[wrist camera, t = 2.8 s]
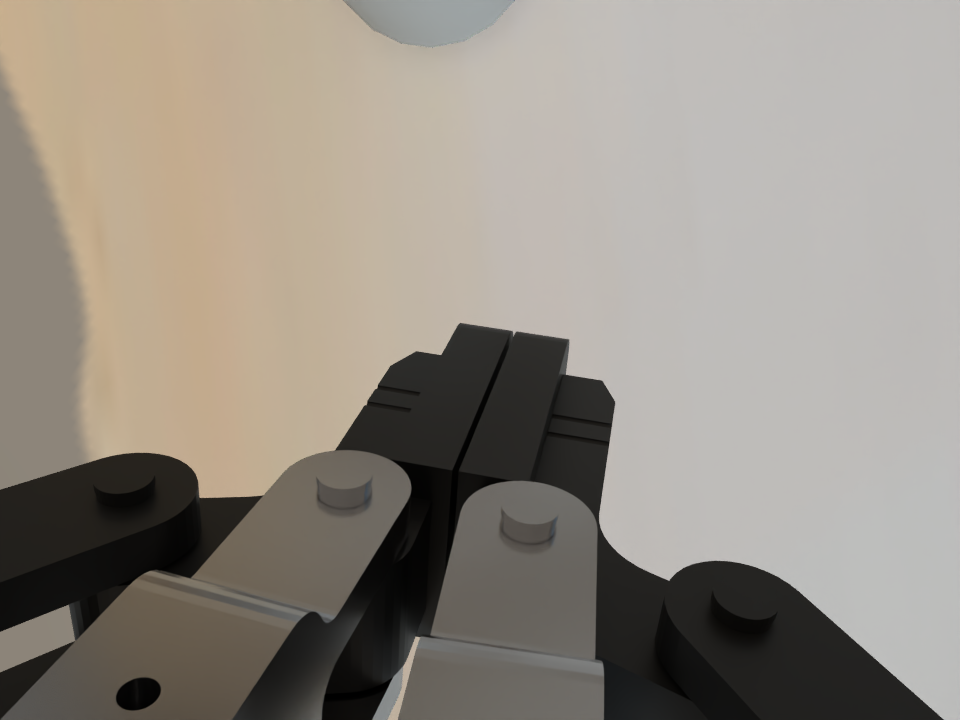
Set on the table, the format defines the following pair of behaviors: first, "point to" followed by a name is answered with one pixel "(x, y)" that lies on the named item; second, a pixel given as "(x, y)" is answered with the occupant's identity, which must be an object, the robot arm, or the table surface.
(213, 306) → the table surface
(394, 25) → the can
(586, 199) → the table surface
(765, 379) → the table surface
